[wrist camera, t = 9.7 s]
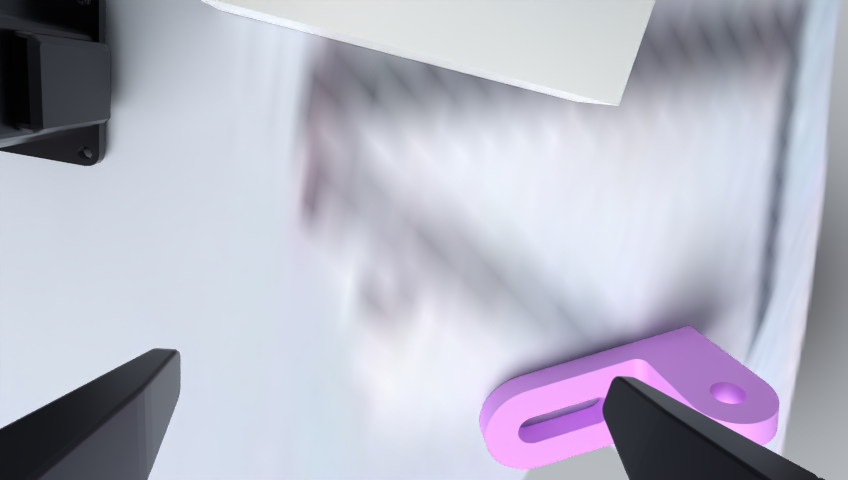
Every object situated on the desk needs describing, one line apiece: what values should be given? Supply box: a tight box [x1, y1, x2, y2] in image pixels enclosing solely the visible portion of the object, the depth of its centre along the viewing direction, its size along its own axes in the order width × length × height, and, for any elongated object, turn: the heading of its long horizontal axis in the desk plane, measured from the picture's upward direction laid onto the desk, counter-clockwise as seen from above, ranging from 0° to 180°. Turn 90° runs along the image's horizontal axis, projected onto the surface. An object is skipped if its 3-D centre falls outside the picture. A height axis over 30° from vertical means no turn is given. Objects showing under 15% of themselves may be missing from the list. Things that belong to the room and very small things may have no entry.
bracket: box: [479, 326, 779, 469], centre depth 23 cm, size 13×6×7 cm, turn 104°
